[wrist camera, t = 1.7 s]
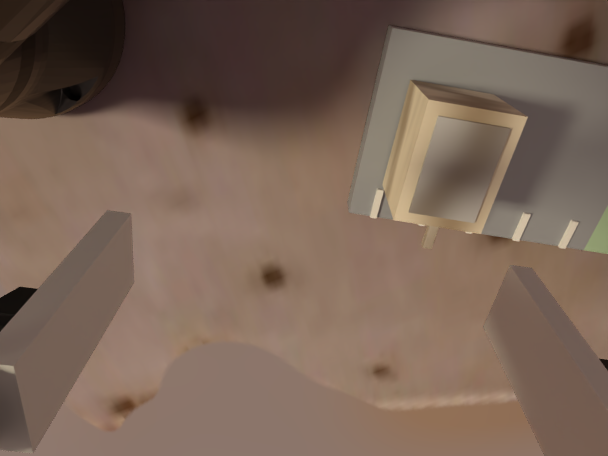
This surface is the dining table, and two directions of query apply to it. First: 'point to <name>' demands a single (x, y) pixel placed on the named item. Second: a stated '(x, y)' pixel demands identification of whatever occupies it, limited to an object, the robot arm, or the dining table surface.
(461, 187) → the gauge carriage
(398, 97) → the track
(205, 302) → the dining table surface
